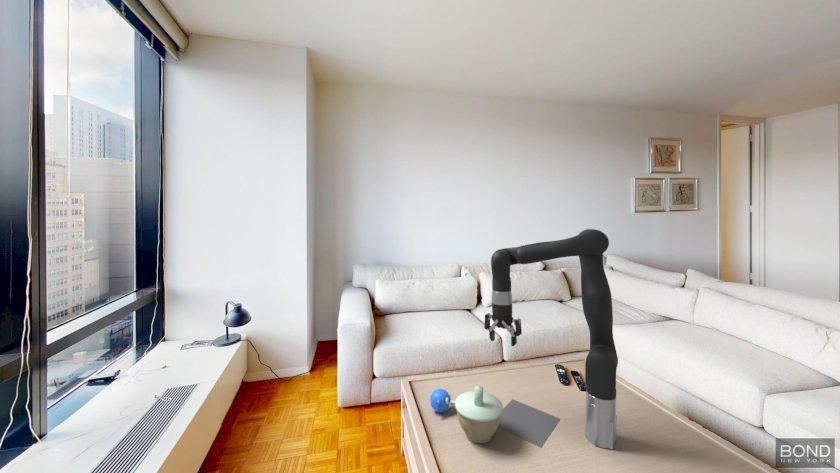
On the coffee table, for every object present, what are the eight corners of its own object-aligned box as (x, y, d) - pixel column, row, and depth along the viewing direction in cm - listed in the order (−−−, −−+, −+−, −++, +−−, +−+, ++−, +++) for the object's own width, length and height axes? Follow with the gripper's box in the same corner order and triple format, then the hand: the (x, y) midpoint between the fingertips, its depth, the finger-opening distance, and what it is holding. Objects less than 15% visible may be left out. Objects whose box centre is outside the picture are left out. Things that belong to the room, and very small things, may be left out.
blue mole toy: (455, 422, 122) (455, 402, 122) (426, 416, 126) (426, 396, 126) (461, 405, 134) (461, 385, 133) (434, 400, 138) (434, 381, 137)
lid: (510, 404, 116) (511, 386, 115) (487, 429, 103) (487, 408, 102) (471, 388, 127) (471, 371, 126) (446, 408, 114) (445, 389, 114)
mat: (560, 419, 123) (560, 418, 123) (541, 448, 108) (541, 447, 108) (512, 400, 137) (512, 399, 137) (489, 423, 122) (489, 422, 122)
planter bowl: (506, 451, 108) (506, 420, 107) (458, 451, 108) (458, 420, 107) (495, 420, 124) (495, 393, 123) (454, 420, 124) (454, 393, 123)
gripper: (523, 302, 119) (524, 343, 120) (489, 297, 128) (490, 336, 129) (515, 306, 113) (516, 350, 114) (480, 301, 122) (481, 341, 123)
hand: (502, 342), depth 122 cm, fingers open, 8 cm apart
